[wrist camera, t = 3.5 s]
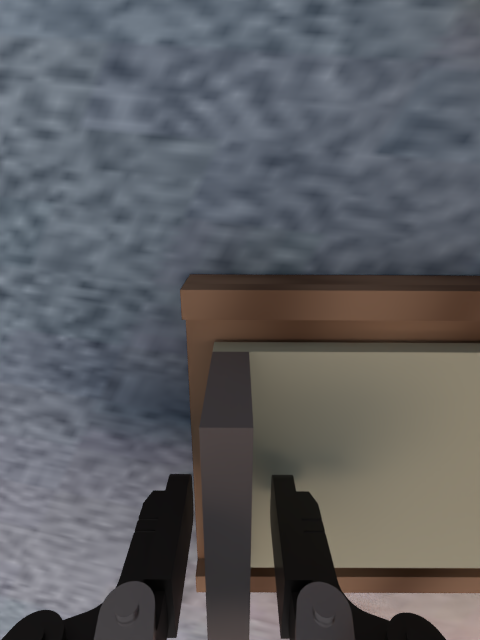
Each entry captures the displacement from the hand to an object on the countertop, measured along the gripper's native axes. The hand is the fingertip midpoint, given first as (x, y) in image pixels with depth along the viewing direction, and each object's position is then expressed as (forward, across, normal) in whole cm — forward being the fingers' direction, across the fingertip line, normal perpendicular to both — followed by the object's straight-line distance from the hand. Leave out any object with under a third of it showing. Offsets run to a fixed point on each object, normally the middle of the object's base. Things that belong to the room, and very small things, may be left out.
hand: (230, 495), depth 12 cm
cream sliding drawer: (+2, -10, 0) cm, 11 cm away
